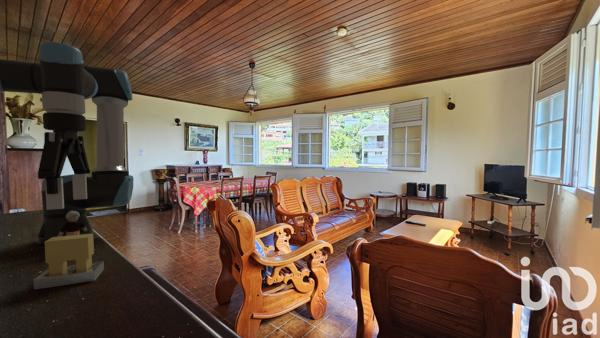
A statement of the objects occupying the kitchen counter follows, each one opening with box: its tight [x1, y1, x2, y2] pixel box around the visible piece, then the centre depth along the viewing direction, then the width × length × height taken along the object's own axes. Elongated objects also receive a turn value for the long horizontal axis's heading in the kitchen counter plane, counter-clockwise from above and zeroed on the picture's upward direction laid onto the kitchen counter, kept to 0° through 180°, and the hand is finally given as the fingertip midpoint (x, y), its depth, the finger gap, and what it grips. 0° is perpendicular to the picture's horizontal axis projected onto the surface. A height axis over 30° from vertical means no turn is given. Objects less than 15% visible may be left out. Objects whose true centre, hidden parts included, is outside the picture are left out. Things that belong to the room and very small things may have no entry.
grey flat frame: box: [33, 260, 105, 290], centre depth 64 cm, size 7×11×2 cm, turn 112°
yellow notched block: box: [44, 233, 95, 276], centre depth 63 cm, size 4×8×10 cm, turn 112°
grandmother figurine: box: [57, 211, 87, 237], centre depth 83 cm, size 8×4×13 cm, turn 168°
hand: (69, 203), depth 63 cm, fingers open, 13 cm apart
